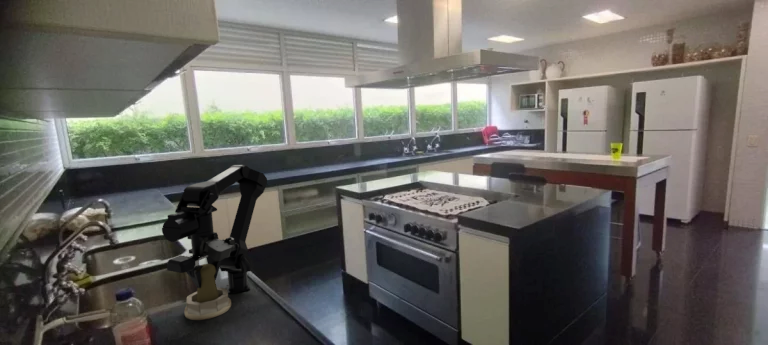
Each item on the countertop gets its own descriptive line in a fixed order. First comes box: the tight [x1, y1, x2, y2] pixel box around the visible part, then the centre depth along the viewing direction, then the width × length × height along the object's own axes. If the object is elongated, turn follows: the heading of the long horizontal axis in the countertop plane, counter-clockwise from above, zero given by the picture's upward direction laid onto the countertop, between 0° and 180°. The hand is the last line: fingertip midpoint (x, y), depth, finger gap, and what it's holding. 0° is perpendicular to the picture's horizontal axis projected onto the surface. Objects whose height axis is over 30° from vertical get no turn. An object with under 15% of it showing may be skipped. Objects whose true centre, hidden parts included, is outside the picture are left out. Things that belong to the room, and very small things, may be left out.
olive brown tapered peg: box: [196, 263, 219, 303], centre depth 102 cm, size 6×6×11 cm
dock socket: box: [183, 286, 232, 321], centre depth 103 cm, size 12×12×4 cm
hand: (206, 283), depth 102 cm, fingers closed on olive brown tapered peg, 5 cm apart
